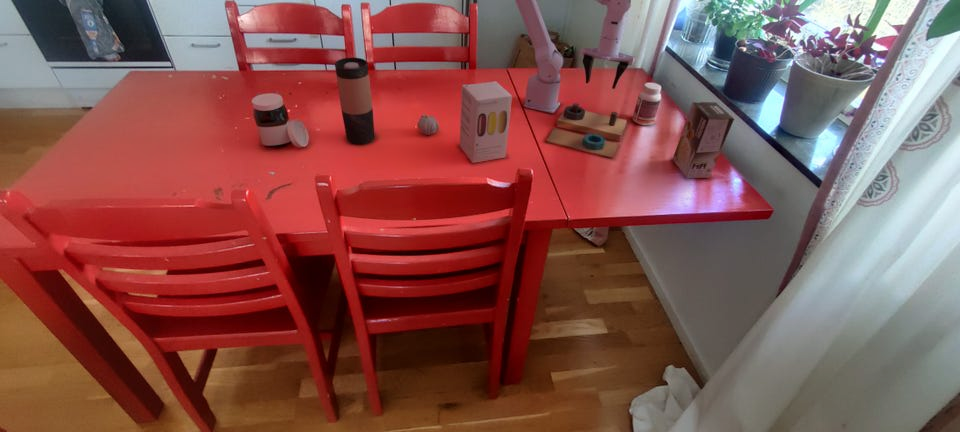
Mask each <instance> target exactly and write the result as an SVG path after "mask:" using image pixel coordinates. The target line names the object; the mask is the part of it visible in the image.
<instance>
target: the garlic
mask: <svg viewBox="0 0 960 432" xmlns="http://www.w3.org/2000/svg"><path fill="white" fill-rule="evenodd" d="M417 129H418V130H419V131H420V133H421V134H423V135H427V136H430V135H433V134H436V133H438V131H439V129H440V124H439V121H438V120H437V118H435V117H434V116H431V115H428V114H423V115H420V117H419V119H418V122H417Z"/></svg>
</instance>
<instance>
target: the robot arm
mask: <svg viewBox="0 0 960 432" xmlns="http://www.w3.org/2000/svg"><path fill="white" fill-rule="evenodd" d="M595 2H597V3H599V4H600V5H602V6H606V14H605V16H604V18H603V22H602V28H601V32H600V37H599V41H598V46H597V48H594V47H586V46H585V47H584V46H582V47H581V49H580V52H579V56H580V57H583V58H582V64H583V67H584V72H585V84H589V83H590V81H591V77H592V69H593V66H594V65H593V64H594V61H595V59H597V60H602V61H603V60H605V61H609V62H615V63H618V64H617V67H616V72H615V76H614V79H613V83H612V87H611V89H614V90H615V89H616V87H617V84H618V82H619V80H620V78H621V76H622V75H623V74H624V73H625V72H626V70H627V68H628V66H630V67H632V66H633V65H634V61H635V56H633V55H630V54H629V55H628V54H626V53H622V52H620V49H621V44H622V41H623V36H624V32H625V28H626V24H627V17H628V11H629V10H630V9H631V6H632V4H631V3H632V0H595ZM515 3H516V5H517V9H518V10H519V13H520V15H521V18H522V21H523V24H524V26H525V28H526V32H527V34H528V36H529V39H530V41H531V44H532V47H533V49H534V55H535V57H534V58H535V63H536V74H530V76H529V78H528V80H527V85H526V89H525V100H524V104H523V107H524V108H527V109H532V110H537V111H540V112H544V113H549V114H554V113H555V112H556V111H557V109H558V108H559V107H560V106H561V102H560V101H558V99H559V95H560V87H561V81H562V76H561V75H560V71H561V69H562V67H563V65H564V57H563V55H562V54H561V53H560V52H559V51H558V50H557V47H556V45H555V44H554V43H553V42H552V40H551V37H550V34H549V32H548V29H547V26H546V24H545V20H544V18H543V16H542V13H541V9H540V7H539V4H538V2H537V0H515Z"/></svg>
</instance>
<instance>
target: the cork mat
mask: <svg viewBox="0 0 960 432" xmlns="http://www.w3.org/2000/svg"><path fill="white" fill-rule="evenodd" d="M584 136H585V135H584V134H580V133H577V132H572V131H569V130H564V129H560V128H553V129H552V131H550V134H549V136H548V137H547V138H546V140H545V142H546V143H549V144H553V145H557V146H560V147H563V148H564V147H565V148H568V149H572V150H577V151H581V152H583V153H584V152H585V153H588V154H592V155H595V156H596V155H597V156H601V157H603V158H608V159H613V158H614V155H615V154H616V153H615V152H616V151H617V148H618V145H619V143H617V142H613V141H609V140H606V141H605V145H604V147H603V149H601V150H591V149H587V148H586V147H585V146H583V145H582V142H583V138H584ZM592 142H593V141H592Z"/></svg>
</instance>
